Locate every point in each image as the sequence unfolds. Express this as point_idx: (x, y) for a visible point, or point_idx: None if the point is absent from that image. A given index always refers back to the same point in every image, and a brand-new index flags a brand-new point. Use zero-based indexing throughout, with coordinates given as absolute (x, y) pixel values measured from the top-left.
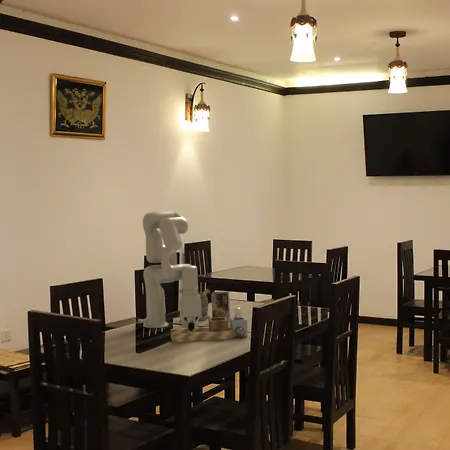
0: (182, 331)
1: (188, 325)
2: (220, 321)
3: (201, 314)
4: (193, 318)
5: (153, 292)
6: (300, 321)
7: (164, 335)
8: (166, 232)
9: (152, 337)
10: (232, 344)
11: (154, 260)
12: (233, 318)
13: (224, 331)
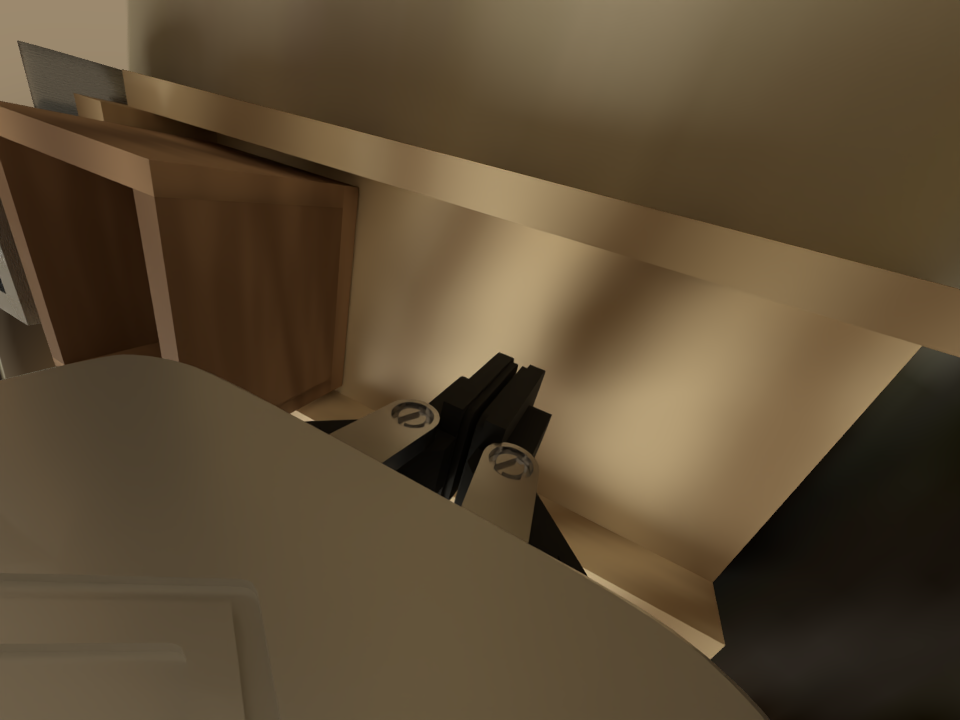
0: (570, 533)
1: (532, 440)
2: (50, 121)
3: (107, 361)
4: (374, 452)
5: None
6: (3, 374)
7: (717, 657)
8: None
9: (928, 706)
10: None
11: None
12: (7, 288)
13: (187, 86)
